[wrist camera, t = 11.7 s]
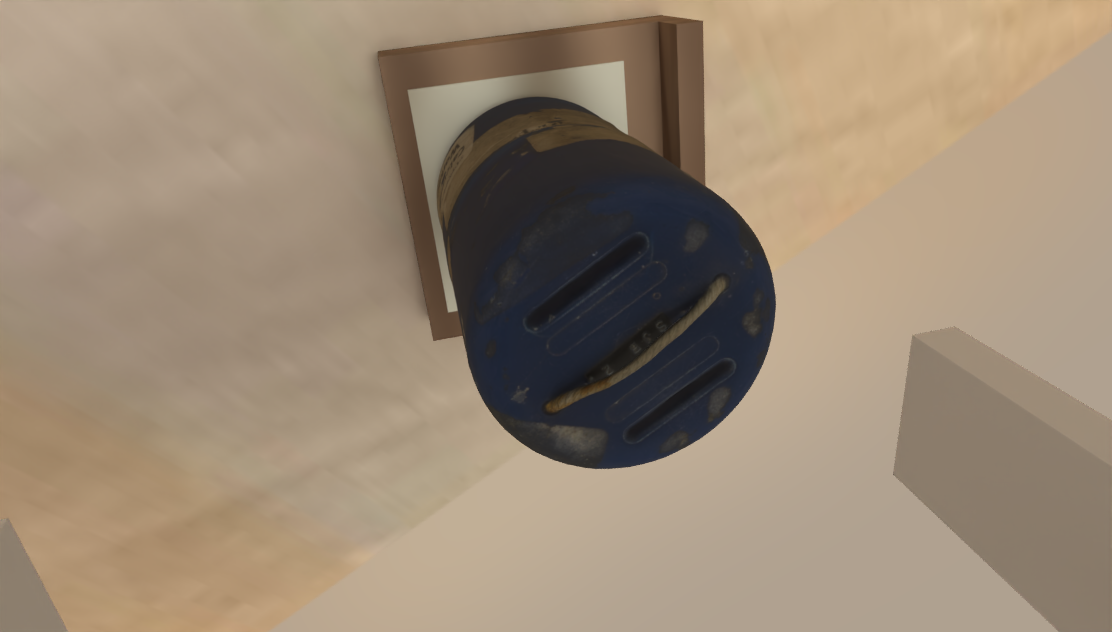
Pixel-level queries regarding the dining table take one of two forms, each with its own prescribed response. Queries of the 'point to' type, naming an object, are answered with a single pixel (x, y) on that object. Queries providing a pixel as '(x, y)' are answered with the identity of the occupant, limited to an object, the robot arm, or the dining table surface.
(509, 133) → the canister
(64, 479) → the dining table surface
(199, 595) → the dining table surface
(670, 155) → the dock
